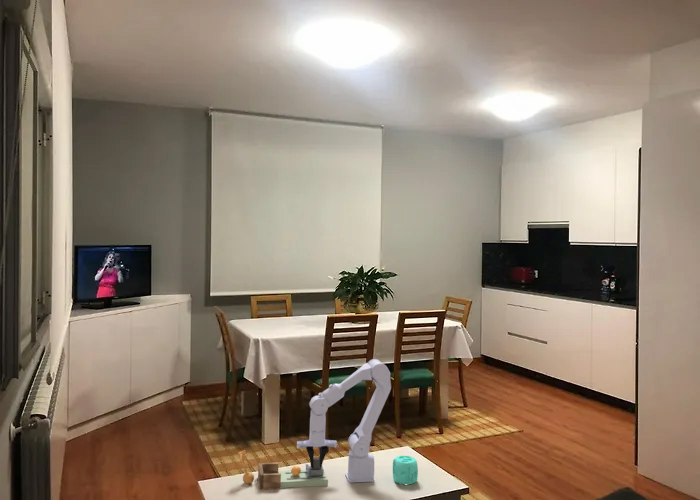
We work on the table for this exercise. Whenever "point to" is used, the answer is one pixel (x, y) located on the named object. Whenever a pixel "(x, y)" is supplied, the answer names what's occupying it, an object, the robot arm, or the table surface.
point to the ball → (295, 470)
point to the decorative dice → (405, 470)
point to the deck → (302, 479)
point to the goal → (269, 476)
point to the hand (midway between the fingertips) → (316, 466)
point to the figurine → (248, 476)
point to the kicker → (314, 468)
